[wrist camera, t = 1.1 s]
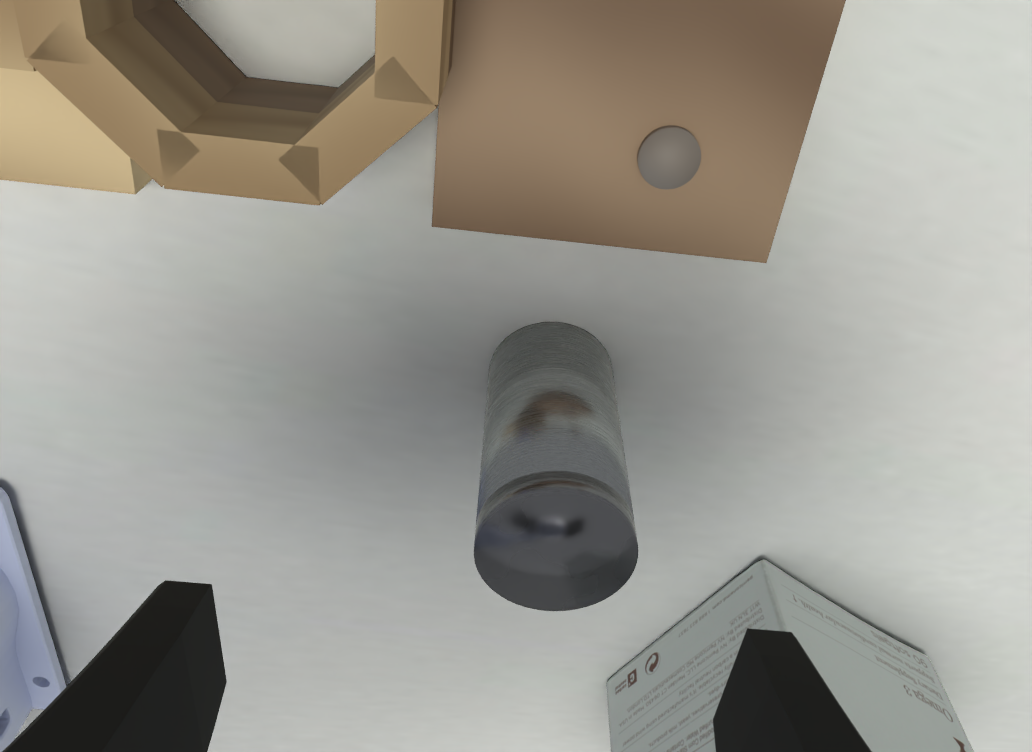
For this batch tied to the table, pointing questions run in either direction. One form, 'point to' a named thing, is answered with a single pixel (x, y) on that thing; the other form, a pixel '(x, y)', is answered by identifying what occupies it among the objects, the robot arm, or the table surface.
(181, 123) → the hinge leaf
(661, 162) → the hinge plate
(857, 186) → the table surface
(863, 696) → the supplement box
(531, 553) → the grey cylinder
